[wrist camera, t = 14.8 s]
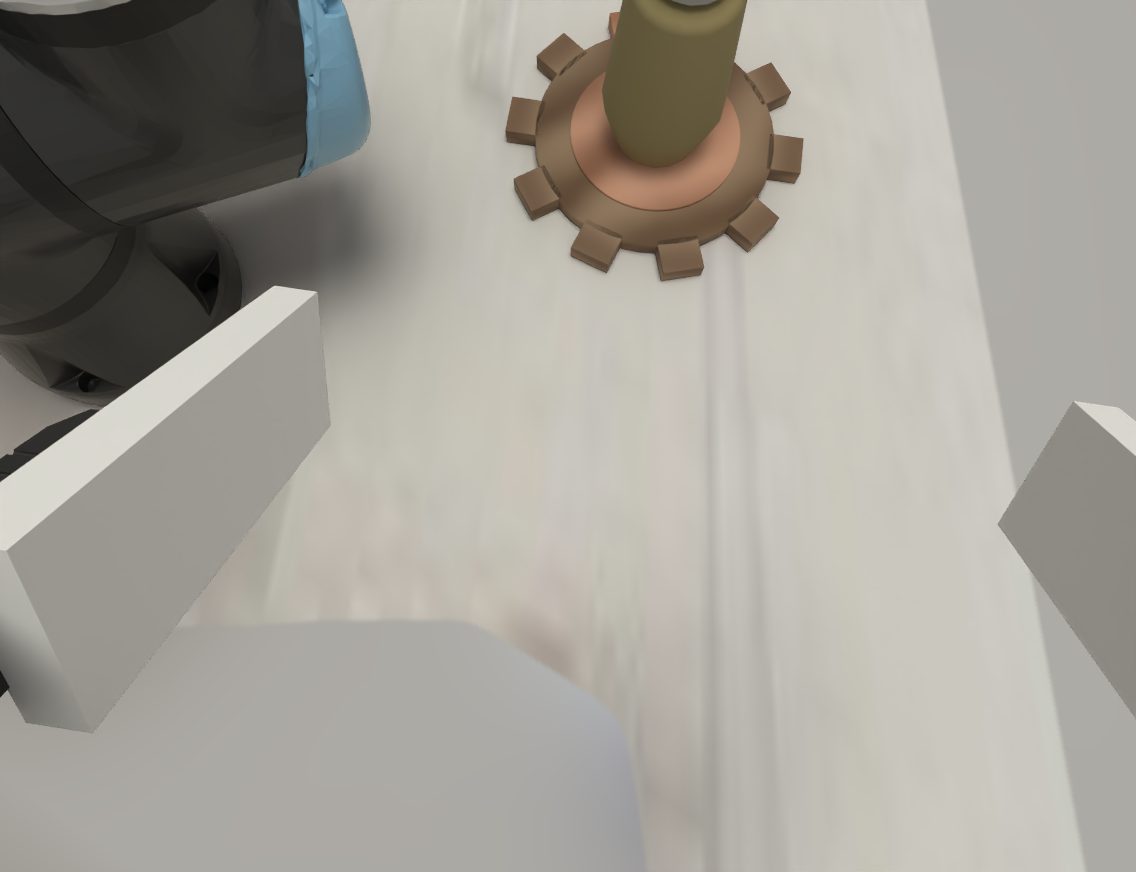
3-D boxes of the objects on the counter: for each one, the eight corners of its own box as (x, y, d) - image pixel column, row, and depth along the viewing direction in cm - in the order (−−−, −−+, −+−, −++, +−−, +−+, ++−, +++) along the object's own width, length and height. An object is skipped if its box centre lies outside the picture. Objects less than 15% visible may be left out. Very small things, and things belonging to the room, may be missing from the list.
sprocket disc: (448, 143, 47) (445, 130, 46) (645, -25, 51) (648, -43, 49) (660, 338, 45) (663, 330, 43) (854, 147, 48) (863, 133, 46)
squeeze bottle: (574, 125, 46) (585, -151, 29) (659, 63, 47) (720, -240, 30) (650, 205, 45) (711, -31, 27) (736, 139, 46) (847, -129, 29)
